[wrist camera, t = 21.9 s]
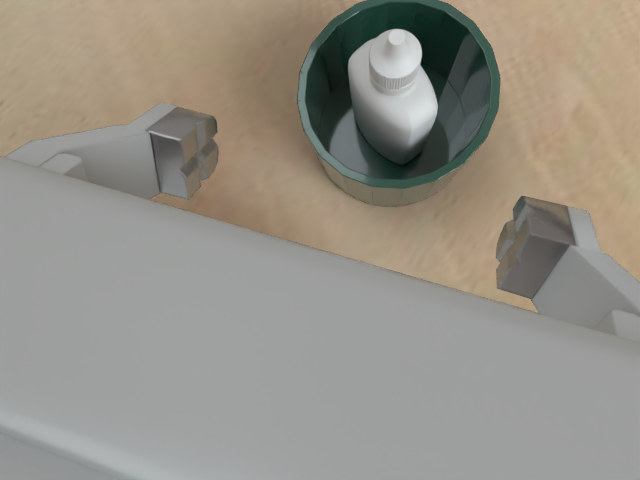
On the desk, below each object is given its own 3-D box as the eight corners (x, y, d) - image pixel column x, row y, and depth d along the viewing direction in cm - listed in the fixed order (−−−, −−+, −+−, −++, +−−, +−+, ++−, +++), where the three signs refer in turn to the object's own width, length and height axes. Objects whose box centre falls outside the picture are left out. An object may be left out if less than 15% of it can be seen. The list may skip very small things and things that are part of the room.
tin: (465, 212, 30) (493, 194, 23) (308, 201, 31) (289, 181, 24) (476, 57, 30) (506, -6, 23) (321, 53, 32) (306, -7, 25)
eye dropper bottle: (412, 84, 30) (436, -37, 18) (426, 161, 30) (461, 88, 18) (350, 97, 31) (335, -12, 19) (364, 173, 30) (357, 110, 18)
